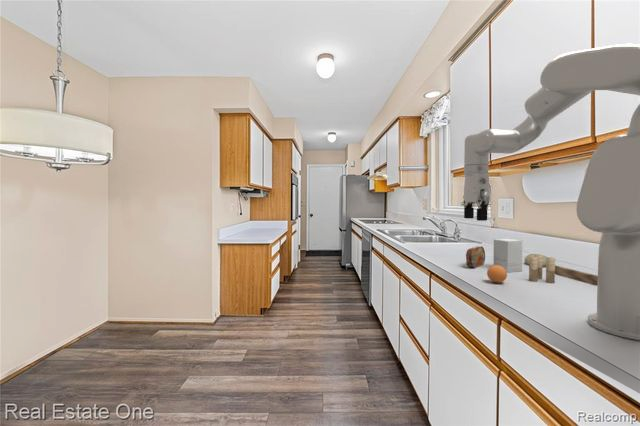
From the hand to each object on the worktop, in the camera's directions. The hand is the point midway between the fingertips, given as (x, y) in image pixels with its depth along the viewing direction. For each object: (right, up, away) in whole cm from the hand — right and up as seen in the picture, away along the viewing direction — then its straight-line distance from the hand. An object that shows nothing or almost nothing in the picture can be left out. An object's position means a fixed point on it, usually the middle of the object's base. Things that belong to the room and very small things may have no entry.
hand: (475, 219), depth 103 cm
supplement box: (+23, -22, +18) cm, 36 cm away
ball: (+8, -19, 0) cm, 21 cm away
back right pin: (+26, -22, 0) cm, 34 cm away
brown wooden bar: (+38, -22, +3) cm, 44 cm away
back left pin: (+26, -22, +4) cm, 34 cm away
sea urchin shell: (+41, -21, +26) cm, 53 cm away
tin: (+14, -21, +25) cm, 36 cm away
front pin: (+22, -22, +2) cm, 31 cm away
